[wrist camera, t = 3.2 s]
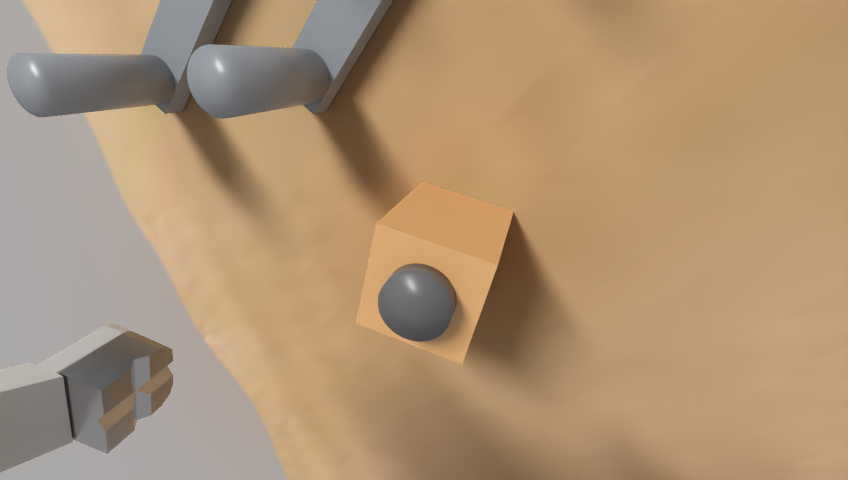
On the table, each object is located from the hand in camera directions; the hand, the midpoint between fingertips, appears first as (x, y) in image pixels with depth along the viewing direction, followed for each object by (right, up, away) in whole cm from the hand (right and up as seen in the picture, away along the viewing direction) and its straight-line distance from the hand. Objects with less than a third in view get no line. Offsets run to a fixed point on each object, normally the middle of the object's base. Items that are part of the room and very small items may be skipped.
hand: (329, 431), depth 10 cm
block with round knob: (+3, +4, +9) cm, 11 cm away
